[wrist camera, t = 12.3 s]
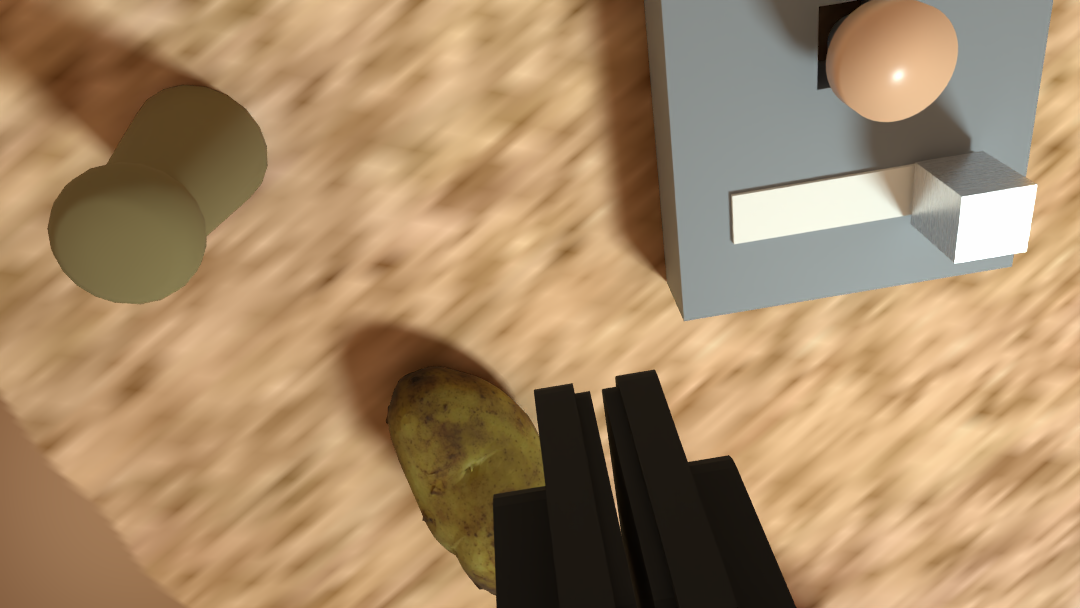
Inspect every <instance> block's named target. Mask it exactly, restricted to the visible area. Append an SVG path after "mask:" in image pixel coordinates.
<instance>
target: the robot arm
mask: <svg viewBox="0 0 1080 608" xmlns="http://www.w3.org/2000/svg"><path fill="white" fill-rule="evenodd" d="M615 380H616V387H612V388H606V389H602V395H603V403H604V410H605V417H606V425H607V432H608V439H609V447H610V454H611V462H612V469H613V476H614V484H615V491H616V498H617V506H618V513H619V520H620V526H619V522H618V517H617V512H616V508H615V503H614V499H613V494H612V490H611V485H610V481H609V476H608V471H607V467H606V462H605V458H604V453H603V449H602V444H601V440H600V435H599V430H598V426H597V421H596V417H595V412H594V408H593V403H592V399H591V394H590V391H588V392H582V393H576V394H575V393H574V388H573V383H571V384H565V385H559V386H553V387H547V388H541V389H535V390H534V396H535V404H536V413H537V421H538V429H539V438H540V446H541V454H542V463H543V471H544V479H545V486H541V487H535V488H529V489H523V490H517V491H511V492H505V493H499V494H494V495H493V525H494V551H495V577H496V603H497V608H796V606H795V604H794V601H793V599H792V596H791V594H790V592H789V589H788V587H787V585H786V582H785V580H784V578H783V575H782V573H781V571H780V568H779V566H778V563H777V561H776V559H775V556H774V554H773V552H772V549H771V547H770V545H769V542H768V540H767V538H766V535H765V533H764V530H763V528H762V526H761V523H760V521H759V519H758V516H757V514H756V512H755V509H754V507H753V505H752V502H751V500H750V497H749V495H748V493H747V490H746V488H745V486H744V483H743V481H742V479H741V476H740V474H739V471H738V469H737V467H736V465H735V463H734V461H733V459H732V458H731V457H730V456H729V455H728V456H722V457H716V458H710V459H704V460H698V461H692V462H688V461H687V459H686V456H685V453H684V450H683V447H682V444H681V441H680V439H679V436H678V433H677V430H676V427H675V424H674V421H673V419H672V416H671V413H670V410H669V407H668V404H667V401H666V399H665V396H664V393H663V390H662V387H661V384H660V381H659V379H658V376H657V373H656V371H655V370H650V371H644V372H638V373H632V374H626V375H620V376H616V377H615ZM620 528H621V531H620ZM621 534H622V535H621Z"/></svg>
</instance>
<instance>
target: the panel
mask: <svg viewBox="0 0 1080 608" xmlns="http://www.w3.org/2000/svg"><path fill="white" fill-rule="evenodd" d="M849 1H855V0H644V7H645V19H646V31H647V44H648V56H649V68H650V81H651V93H652V105H653V118H654V130H655V142H656V155H657V167H658V179H659V192H660V204H661V216H662V228H663V241H664V253H665V265H666V278H667V284H668V286H669V288H670V290H671V293H672V295H673V297H674V299H675V302H676V304H677V306H678V309H679V311H680V313H681V315H682V318H683V320H684V321H688V320H694V319H700V318H706V317H712V316H718V315H724V314H730V313H736V312H742V311H748V310H754V309H760V308H766V307H772V306H778V305H784V304H790V303H796V302H802V301H808V300H814V299H820V298H826V297H832V296H838V295H844V294H850V293H856V292H862V291H868V290H874V289H880V288H886V287H892V286H898V285H904V284H910V283H916V282H922V281H928V280H934V279H940V278H946V277H952V276H958V275H964V274H970V273H976V272H982V271H988V270H994V269H1000V268H1006V267H1012V262H1013V256H1014V254H1008V255H1002V256H996V257H990V258H984V259H978V260H972V261H966V262H960V263H954V262H953V261H951V260H950V259H949V258H948V257H947V256H946V255H945V254H943V253H942V252H941V251H940V250H939V249H938V248H937V247H936V246H934V245H933V244H932V243H931V242H930V241H929V240H928V239H927V238H925V237H924V236H923V235H922V234H921V233H920V232H919V231H918V230H916V229H915V228H914V227H913V226H912V225H911V224H910V220H911V208H912V196H913V183H914V171H915V162H919V161H925V160H931V159H937V158H943V157H949V156H955V155H961V154H967V153H973V152H979V151H984V152H986V153H987V154H989V155H991V156H992V157H994V158H995V159H997V160H999V161H1000V162H1002V163H1004V164H1005V165H1007V166H1008V167H1010V168H1012V169H1013V170H1015V171H1016V172H1018V173H1020V174H1021V175H1023V176H1025V177H1026V172H1027V166H1028V159H1029V153H1030V146H1031V140H1032V134H1033V127H1034V121H1035V114H1036V108H1037V101H1038V95H1039V88H1040V82H1041V76H1042V69H1043V63H1044V56H1045V50H1046V43H1047V37H1048V30H1049V24H1050V18H1051V11H1052V5H1053V0H917V1H920V2H922V3H925V4H928V5H930V6H933V7H935V8H936V9H938V10H940V11H941V12H942V13H944V14H945V15H946V17H947V18H948V19H949V20H950V22H951V23H952V25H953V27H954V29H955V32H956V36H957V40H958V56H957V62H956V66H955V69H954V72H953V74H952V77H951V79H950V81H949V82H948V84H947V86H946V87H945V89H944V90H943V92H942V93H941V94H940V95H939V96H938V98H937V99H936V100H935V101H934V102H932V103H931V104H930V105H929V106H928V107H926V108H925V109H924V110H922V111H921V112H919V113H917V114H915V115H913V116H911V117H909V118H906V119H903V120H899V121H894V122H878V121H873V120H870V119H867V118H865V117H863V116H861V115H860V114H859V113H857V112H856V111H854V110H853V109H852V108H850V107H849V106H847V105H846V104H845V103H843V102H842V101H841V100H840V99H839V98H838V97H837V96H836V95H835V94H834V92H833V91H832V89H831V87H830V85H829V82H828V79H827V74H826V60H822V61H818V19H819V7H820V6H826V5H832V4H838V3H844V2H849ZM869 1H871V0H861V3H860V6H861V5H863V4H865V3H867V2H869Z"/></svg>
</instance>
